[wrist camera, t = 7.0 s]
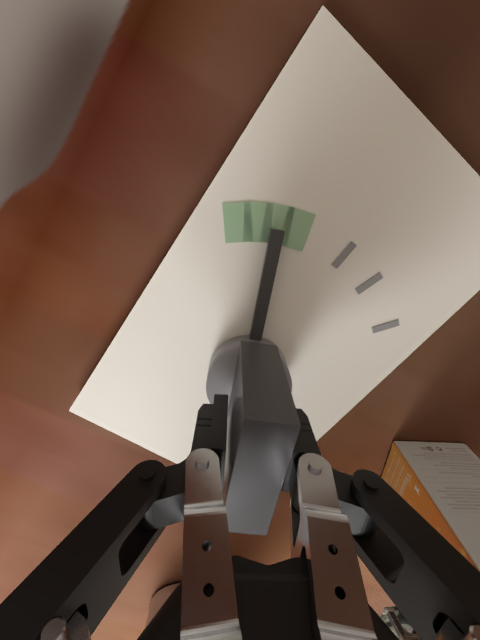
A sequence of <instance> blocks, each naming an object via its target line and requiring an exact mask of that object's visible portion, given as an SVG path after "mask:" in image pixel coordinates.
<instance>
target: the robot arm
mask: <svg viewBox="0 0 480 640" xmlns="http://www.w3.org/2000/svg"><path fill="white" fill-rule="evenodd" d="M296 411H297V414H298V417H299V421H300V424H301V428H300V431H299V434H298V437H297V440H296V444H295V447H294V450H293V453H292V456H291V459H290V463H289V466H288V469H287V472H286V475H285V478H284V482H283V485H282V490H283V491H286V492H290V497H291V500H290V505H289V511H290V535H291V559H288V560H285V561H282V562H278V563H275V564H272V565H264V564H261V563H258V562H255V561H252V560H249V559H246V558H243V557H240V556H231V547H230V538H229V529H228V520H227V511H226V505H225V504H224V502H223V493H222V489H223V484H224V471H225V458H226V441H227V413H228V395H224V394H214V403H213V404H203V405H202V406H201V407H200V409H199V410H198V414H197V420H196V426H195V431H194V437H193V442H192V448H191V452H190V454H189V455H188V457H187V458H186V459H185V460H184V461H182V462H180V463H178V464H176V465H172V466H168V467H165V466H164V465H163V464H162V463H161V462H159V461H156V460H147V461H144V462H141V463H139V464H138V465H136V466H135V467H134V468H133V469H132V470H131V471H130V472H129V473H128V474H127V475H126V476H125V477H124V478H123V479H122V480H121V481H120V482H119V483H118V484H117V485H116V486H115V487H114V489H113V490H112V491H111V492H110V493H109V494H108V495H107V496H106V497H105V498H104V499H103V500H102V501H101V502H100V503H99V504H98V505H97V506H96V507H95V508H94V509H93V510H92V511H91V512H90V513H89V514H88V515H87V516H86V517H85V518H84V519H83V520H82V521H81V522H80V523H79V524H78V525H77V526H76V527H75V528H74V529H73V530H72V531H71V533H70V534H69V535H68V536H67V537H66V538H65V539H64V540H63V541H62V542H61V543H60V544H59V545H58V546H57V547H56V548H55V549H54V550H53V551H52V552H51V553H50V554H49V555H48V556H47V557H46V558H45V559H44V560H43V561H42V562H41V563H40V564H39V565H38V566H37V567H36V568H35V569H34V570H33V571H32V572H31V573H30V574H29V575H28V577H27V578H26V579H25V580H24V581H23V582H22V583H21V584H20V585H19V586H18V587H17V588H16V589H15V590H14V591H13V592H12V593H11V594H10V595H9V596H8V597H7V598H6V599H5V600H4V601H3V602H2V603H1V604H0V640H91V635H92V633H93V632H94V631H95V629H96V628H97V626H98V625H99V623H100V622H101V620H102V619H103V617H104V616H105V615H106V613H107V612H108V610H109V609H110V607H111V606H112V604H113V603H114V601H115V600H116V599H117V597H118V596H119V594H120V593H121V591H122V590H123V588H124V587H125V585H126V584H127V583H128V581H129V580H130V578H131V577H132V575H133V574H134V572H135V571H136V569H137V568H138V567H139V565H140V564H141V562H142V561H143V559H144V558H145V556H146V555H147V553H148V552H149V551H150V549H151V548H152V546H153V545H154V543H155V542H156V540H157V539H158V537H159V536H160V535H161V533H162V532H163V530H164V529H165V527H166V526H167V525H170V524H173V523H177V522H180V521H183V520H184V528H183V564H182V582H181V583H177V584H173V585H170V586H167V587H164V588H163V589H161V590H159V591H158V592H157V593H156V594H155V595H154V596H153V598H152V600H151V604H150V608H149V613H148V618H147V622H146V627H145V629H144V631H143V632H142V633H141V635H140V636H139V638H138V639H137V640H399V639H398V638H397V636H396V635H395V634H394V633H393V632H392V631H391V629H390V628H389V627H388V626H387V625H386V624H385V622H384V621H383V620H382V619H381V618H380V617H379V616H378V614H377V613H376V612H375V611H374V610H373V609H372V607H371V606H370V605H369V604H368V601H367V597H366V593H365V588H364V584H363V580H362V575H361V571H360V567H359V562H358V558H357V555H358V556H359V558H360V559H361V560H362V562H363V563H364V564H365V566H366V567H367V568H368V569H369V571H370V572H371V573H372V575H373V576H374V577H375V579H376V580H377V581H378V583H379V584H380V585H381V587H382V588H383V589H384V591H385V592H386V593H387V595H388V596H389V597H390V599H391V600H392V601H393V603H394V604H395V605H396V607H397V608H398V609H399V611H400V612H401V613H402V615H403V616H404V617H405V619H406V620H407V621H408V623H409V624H410V625H411V627H412V628H413V629H414V630H415V632H416V633H417V634H418V636H419V637H420V638H421V640H480V572H479V571H478V570H477V569H476V568H475V567H474V566H473V565H472V564H471V563H470V562H469V561H468V560H467V559H466V558H465V557H464V556H463V555H462V554H461V553H459V552H458V551H457V550H456V549H455V548H454V547H453V546H452V545H451V544H450V543H449V542H448V541H447V540H446V539H445V538H444V537H443V536H442V535H441V534H440V533H439V532H438V531H437V530H435V529H434V528H433V527H432V526H431V525H430V524H429V523H428V522H427V521H426V520H425V519H424V518H423V517H422V516H421V515H420V514H419V513H418V512H417V511H416V510H415V509H414V508H413V507H411V506H410V505H409V504H408V503H407V502H406V501H405V500H404V499H403V498H402V497H401V496H400V495H399V494H398V493H397V492H396V491H395V490H394V489H393V488H392V487H391V486H390V485H389V484H388V483H386V482H385V481H384V480H383V479H382V478H381V477H380V476H379V475H377V474H376V473H374V472H371V471H368V470H358V471H356V472H355V473H354V475H353V476H351V475H348V474H345V473H342V472H339V471H336V470H334V469H333V468H331V466H330V464H329V462H328V461H327V460H326V459H325V458H323V457H322V456H321V453H320V451H319V448H318V445H317V442H316V439H315V436H314V433H313V432H312V427H311V425H310V422H309V419H308V416H307V415H306V414H305V412H304V411H303V410H302V409H298V408H296Z"/></svg>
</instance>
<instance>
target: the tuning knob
mask: <svg viewBox="0 0 480 640" xmlns="http://www.w3.org/2000/svg"><path fill="white" fill-rule="evenodd" d="M284 233H285V231H284V230H279V229H273V228H270V233H269V238H268V243H267V248H266V253H265V258H264V263H263V268H262V273H261V278H260V284H259V289H258V294H257V299H256V304H255V309H254V314H253V319H252V324H251V329H250V334H249V335H242V336H237V337H234V338H231V339H229V340H227V341H225V342H224V343H223V344H221V345H220V346H219V347H218V348H217V349H216V350H215V352H214V353H213V355H212V357H211V360H210V363H209V369H208V375H207V381H206V393H207V397H208V400H209V402H210V404H213V403H214V394H224V395H228V413H227V441H226V458H225V471H224V484H223V489H222V493H223V502H224V504H225V505H226V511H227V520H228V529H229V532H232V533H244V534H255V535H267V532H268V529H269V526H270V523H271V520H272V516H273V513H274V510H275V507H276V504H277V501H278V497H279V494H280V491H281V488H282V485H283V482H284V478H285V475H286V472H287V469H288V466H289V463H290V459H291V456H292V453H293V450H294V447H295V444H296V440H297V437H298V434H299V431H300V428H301V424H300V421H299V417H298V414H297V411H296V407H295V404H294V401H293V397H292V394H291V392H292V379H291V376H290V373H289V370H288V366H287V363H286V360H285V357H284V355H283V353H282V352H281V350H280V349H279V348H278V347H277V346H276V345H275V344H274V343H273V342H271V341H270V340H268V339H266V338H263V337H262V335H263V330H264V326H265V321H266V316H267V312H268V307H269V303H270V298H271V293H272V289H273V284H274V280H275V275H276V270H277V266H278V261H279V256H280V252H281V247H282V243H283V238H284Z"/></svg>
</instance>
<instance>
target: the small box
mask: <svg viewBox="0 0 480 640" xmlns="http://www.w3.org/2000/svg"><path fill="white" fill-rule="evenodd" d="M381 478H382V479H383V480H384V481H385V482H386V483H388V484H389V485H390V486H391V487H392V488H393V489H394V490H395V491H396V492H397V493H398V494H399V495H400V496H401V497H402V498H403V499H404V500H405V501H406V502H407V503H408V504H409V505H410V506H411V507H413V508H414V509H415V510H416V511H417V512H418V513H419V514H420V515H421V516H422V517H423V518H424V519H425V520H426V521H427V522H428V523H429V524H430V525H431V526H432V527H433V528H434V529H435V530H437V531H438V532H439V533H440V534H441V535H442V536H443V537H444V538H445V539H446V540H447V541H448V542H449V543H450V544H451V545H452V546H453V547H454V548H455V549H456V550H457V551H458V552H459V553H461V554H462V555H463V556H464V557H465V558H466V559H467V560H468V561H469V562H470V563H471V564H472V565H473V566H474V567H475V568H476V569H477V570H478V571H479V572H480V459H479V458H478V457H477V456H476V455H475V453H474V452H473V451H472V450H471V449H470V448H469V447H468V446H467V445H466V444H463V443H443V442H417V441H393V443H392V447H391V450H390V454H389V457H388V459H387V462H386V465H385V468H384V470H383V473H382V476H381Z"/></svg>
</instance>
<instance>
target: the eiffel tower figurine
mask: <svg viewBox="0 0 480 640" xmlns="http://www.w3.org/2000/svg"><path fill="white" fill-rule="evenodd" d="M380 618H381V619H382V620H383V621H384V622H385V624H386V625H387V626H388V627H389V628H390V629H391V631H392V632H393V633H394V634H395V635H396V636H397V638H398V639H399V640H421V638H420V637H419V636H418V634H417V633H416V632H415V630H414V629H413V628H412V627H411V625H410V624H409V623H408V621H407V620H406V619H405V617H404V616H403V615H402V613H401V612H400V611H399V609H398V608H397V607H385V608H384V611H383V613H382V615H381V617H380Z"/></svg>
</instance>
